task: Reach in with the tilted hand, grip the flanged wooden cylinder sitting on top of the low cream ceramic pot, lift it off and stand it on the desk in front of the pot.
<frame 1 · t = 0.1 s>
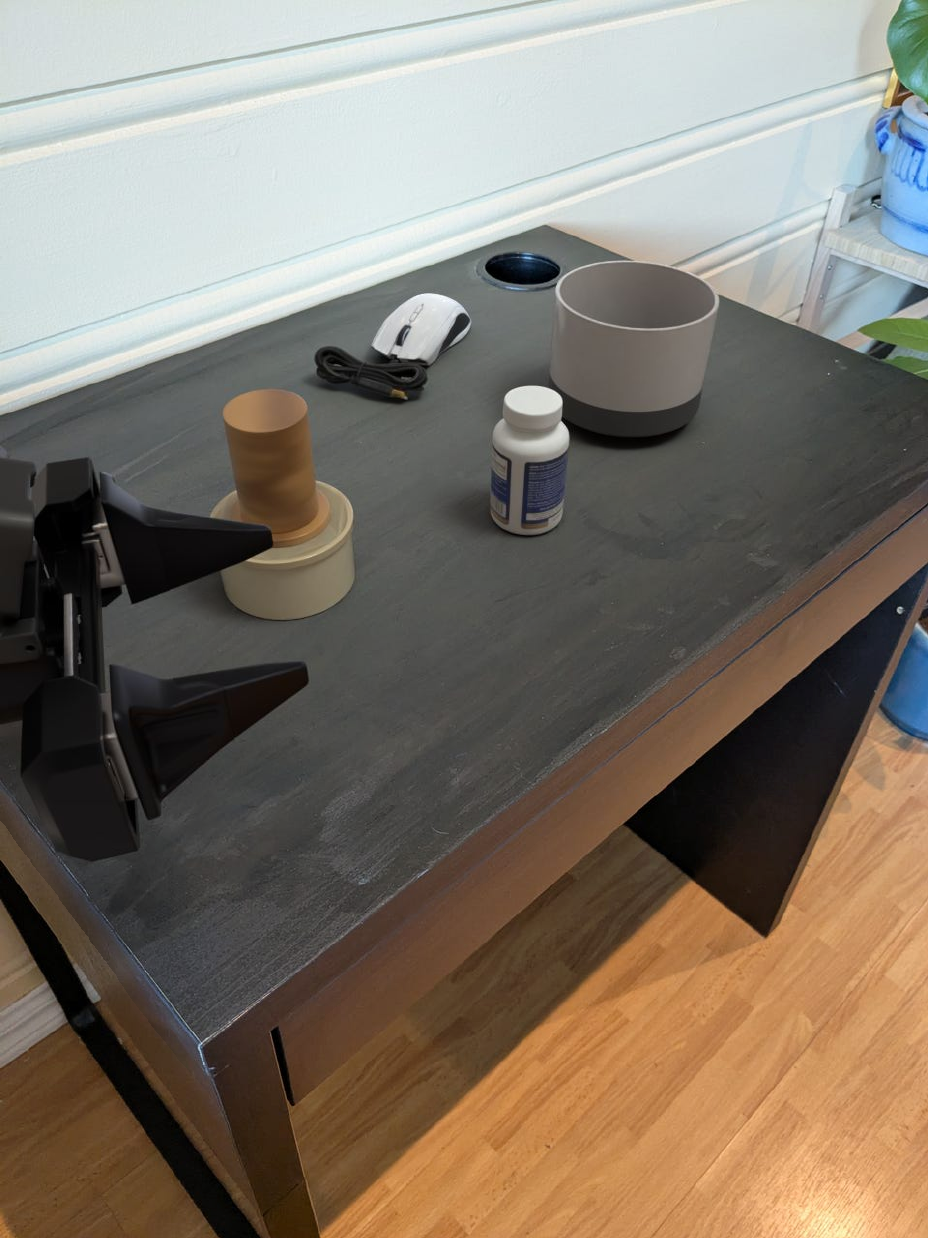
hand: (288, 599, 42), 15 cm above the table, tool horizontal, fingers open, 9 cm apart
pill bottle: (525, 517, 72), on the table
cream ceramic pot: (289, 576, 66), on the table
planter: (620, 412, 83), on the table
flanged wooden cylinder: (281, 517, 63), point 5 cm above the table, touching cream ceramic pot
computer mouse: (408, 355, 90), on the table
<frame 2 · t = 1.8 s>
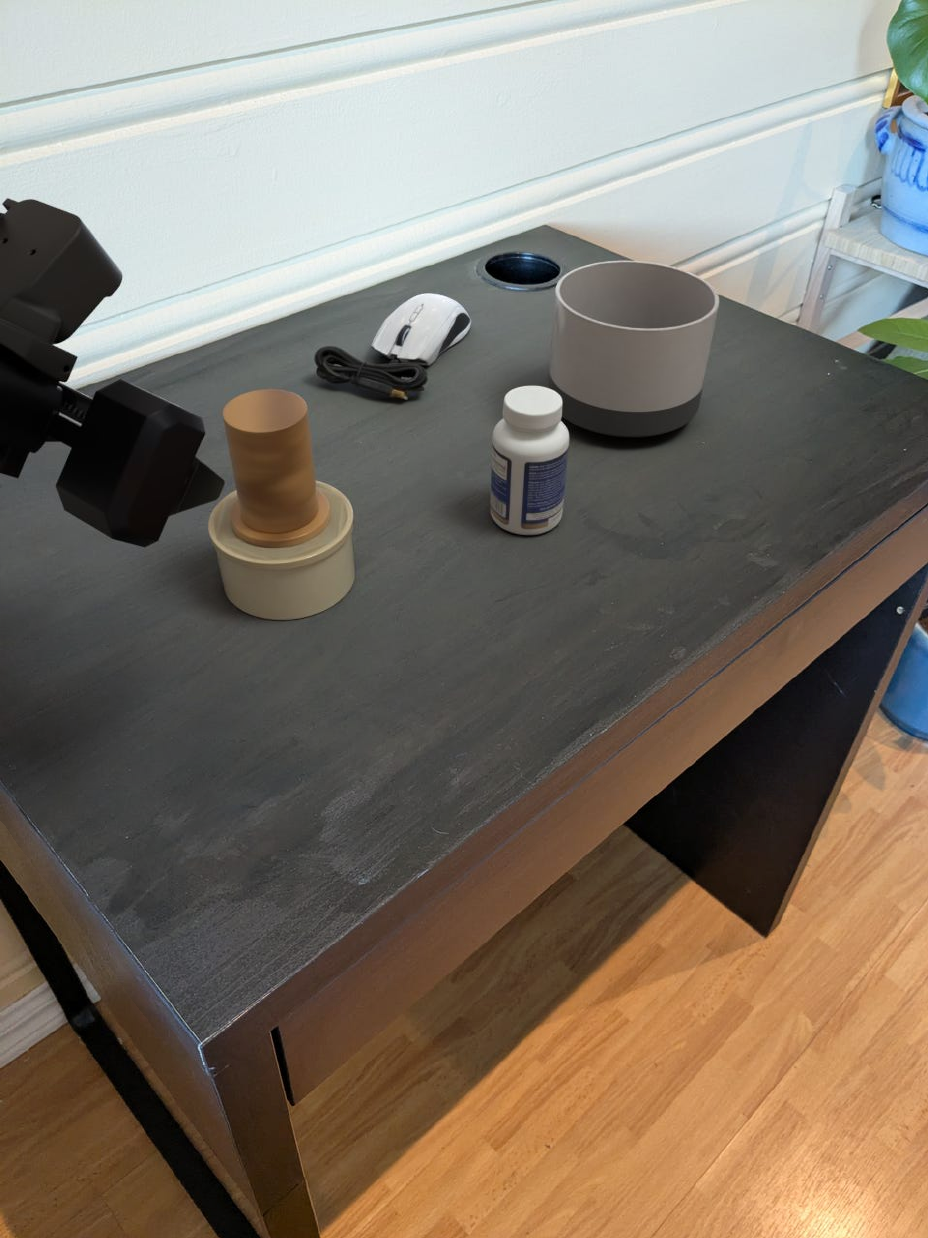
hand: (161, 459, 52), 14 cm above the table, tool tilted 45°, fingers open, 9 cm apart
nothing on the table moved.
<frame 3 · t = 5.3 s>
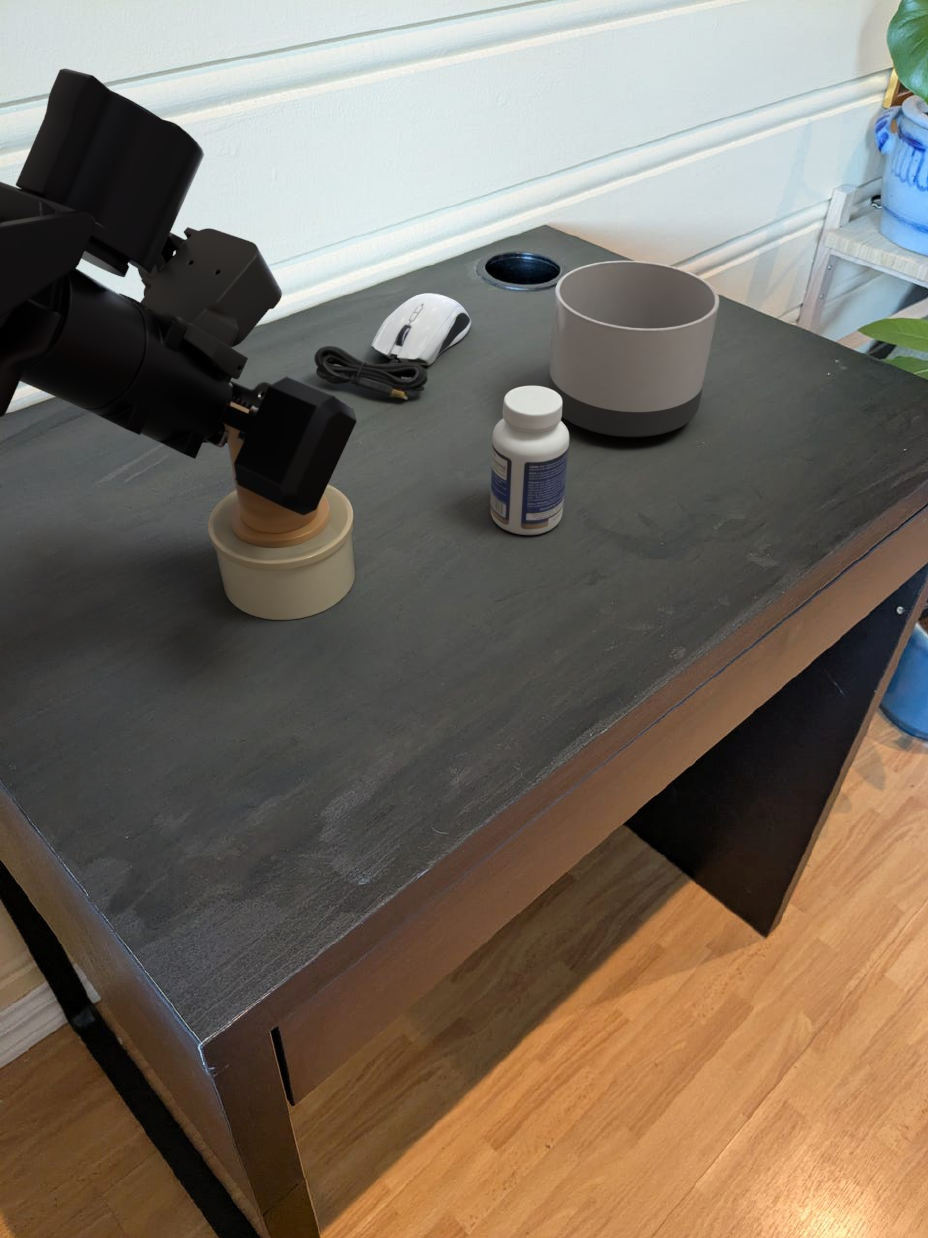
hand: (288, 448, 61), 10 cm above the table, tool tilted 45°, fingers closed on flanged wooden cylinder, 5 cm apart
flanged wooden cylinder: (281, 517, 63), point 5 cm above the table, touching gripper, cream ceramic pot
everything else where it was.
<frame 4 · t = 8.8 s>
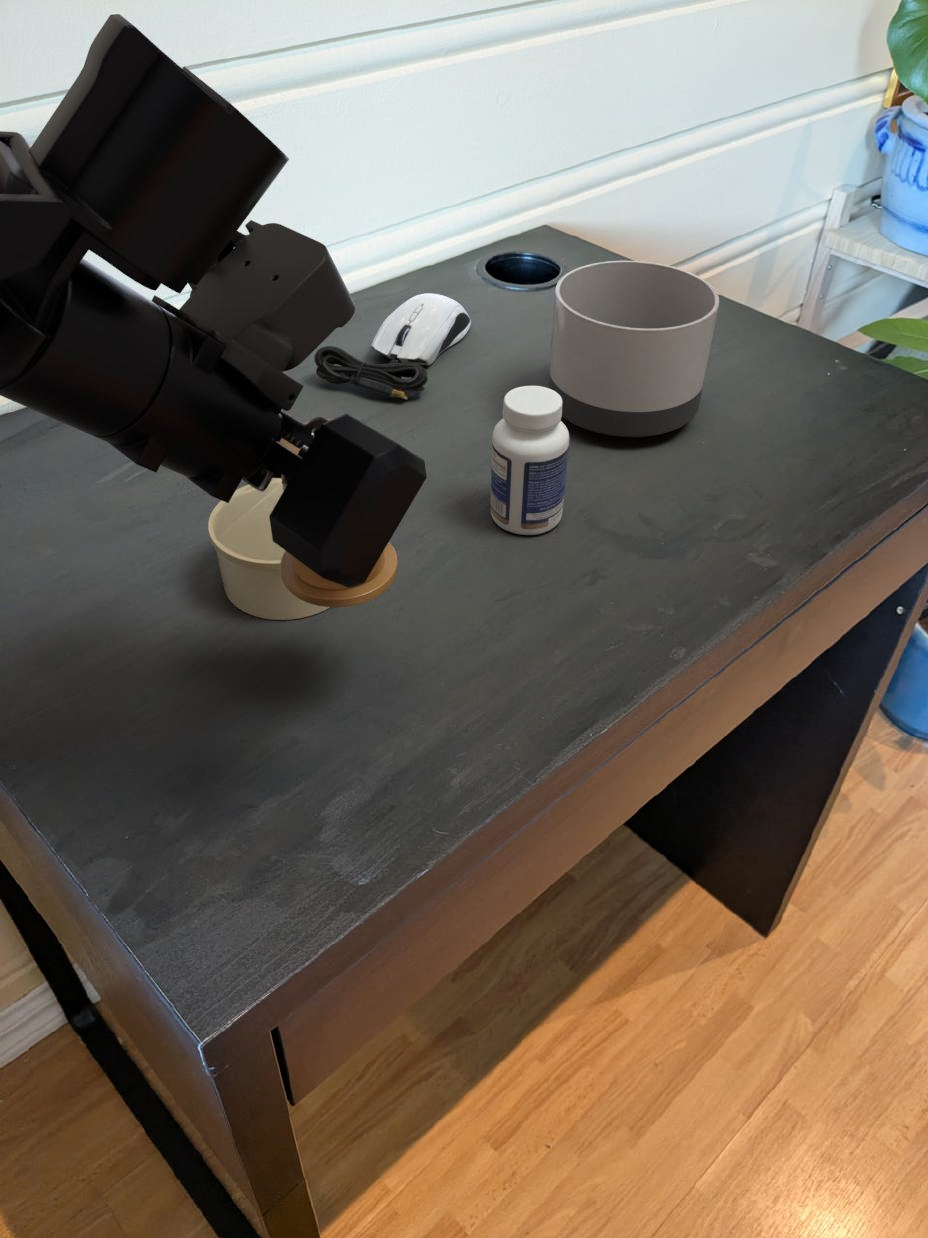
hand: (354, 490, 51), 13 cm above the table, tool tilted 45°, fingers closed on flanged wooden cylinder, 5 cm apart
flanged wooden cylinder: (339, 569, 53), point 9 cm above the table, touching gripper
everything else where it was.
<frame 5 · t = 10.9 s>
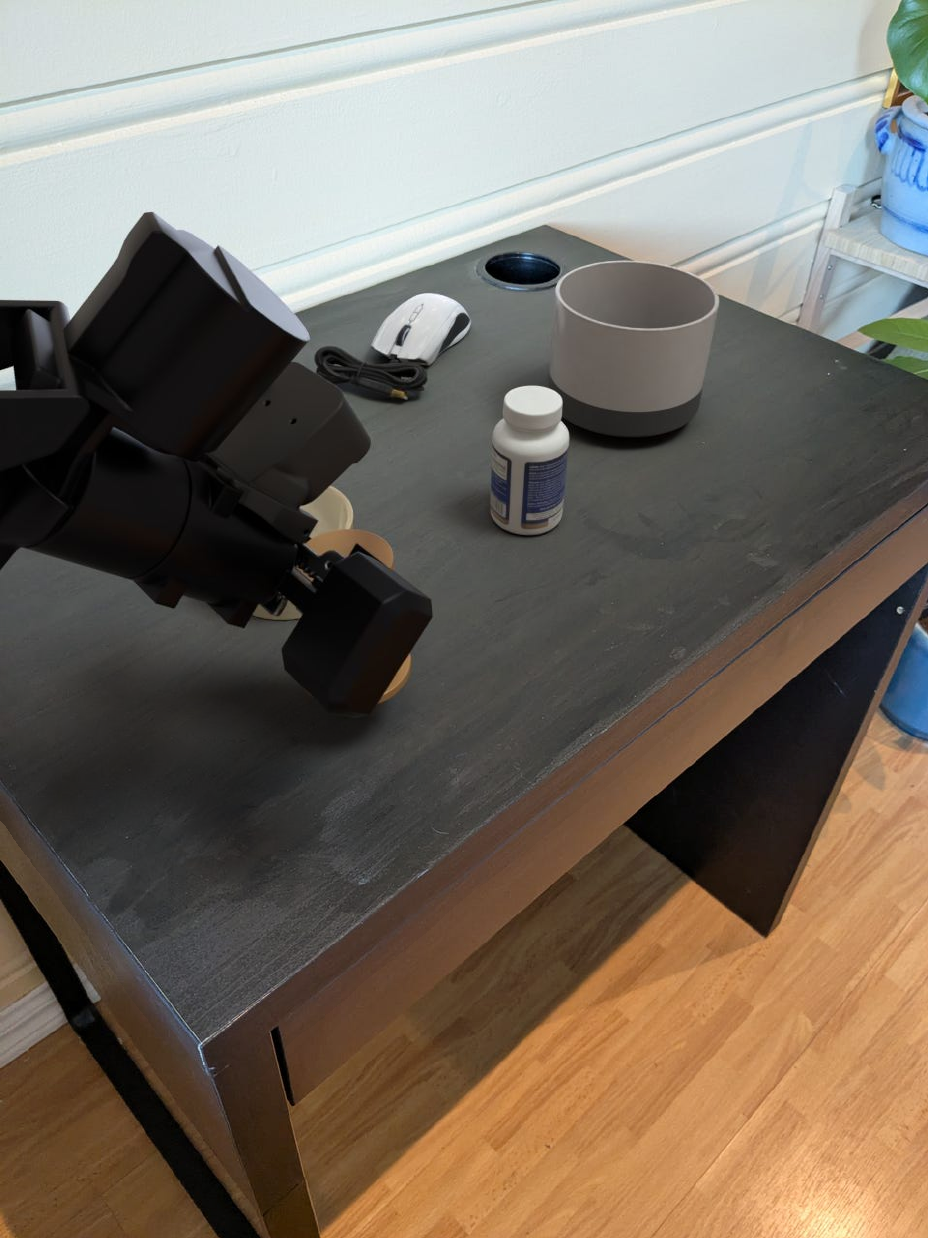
hand: (370, 596, 52), 8 cm above the table, tool tilted 45°, fingers closed on flanged wooden cylinder, 5 cm apart
flanged wooden cylinder: (354, 667, 55), point 4 cm above the table, touching gripper
everything else where it was.
when the fingers open (5 cm above the table, at t = 12.5 s): flanged wooden cylinder stays where it is, on the table.
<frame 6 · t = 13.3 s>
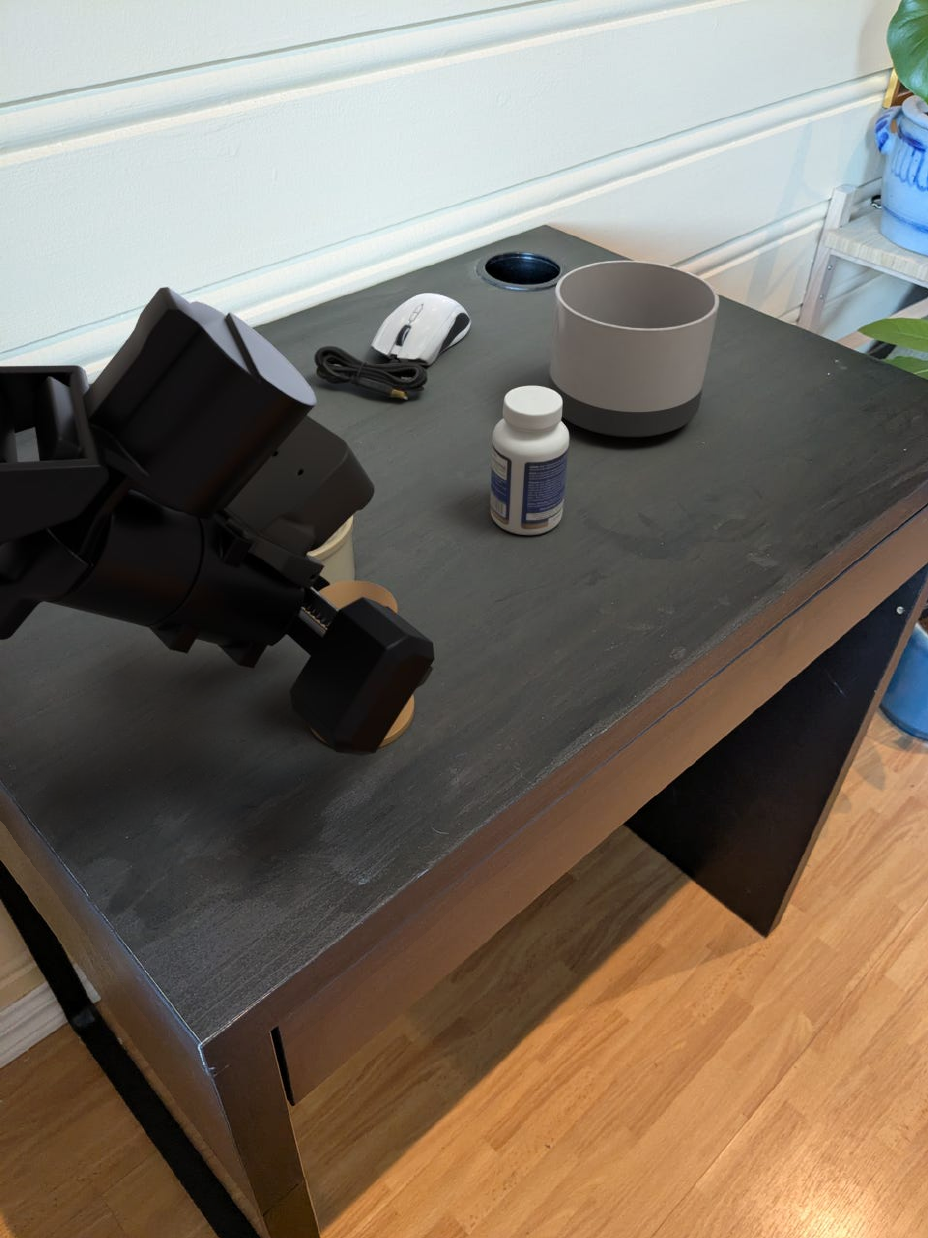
hand: (373, 630, 54), 6 cm above the table, tool tilted 45°, fingers open, 9 cm apart
flanged wooden cylinder: (360, 709, 57), on the table
everything else where it was.
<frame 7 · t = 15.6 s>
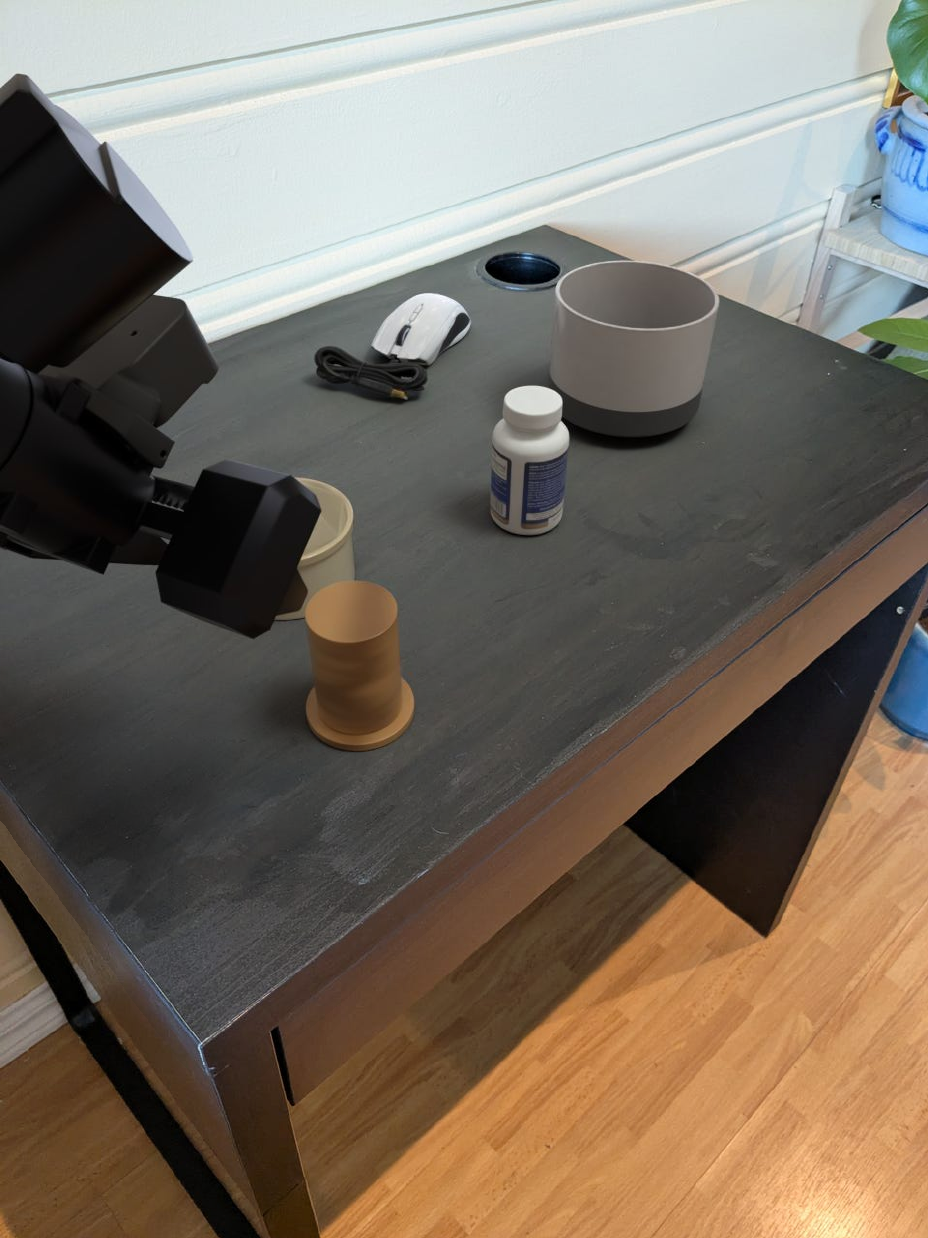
hand: (230, 577, 48), 12 cm above the table, tool tilted 35°, fingers open, 9 cm apart
nothing on the table moved.
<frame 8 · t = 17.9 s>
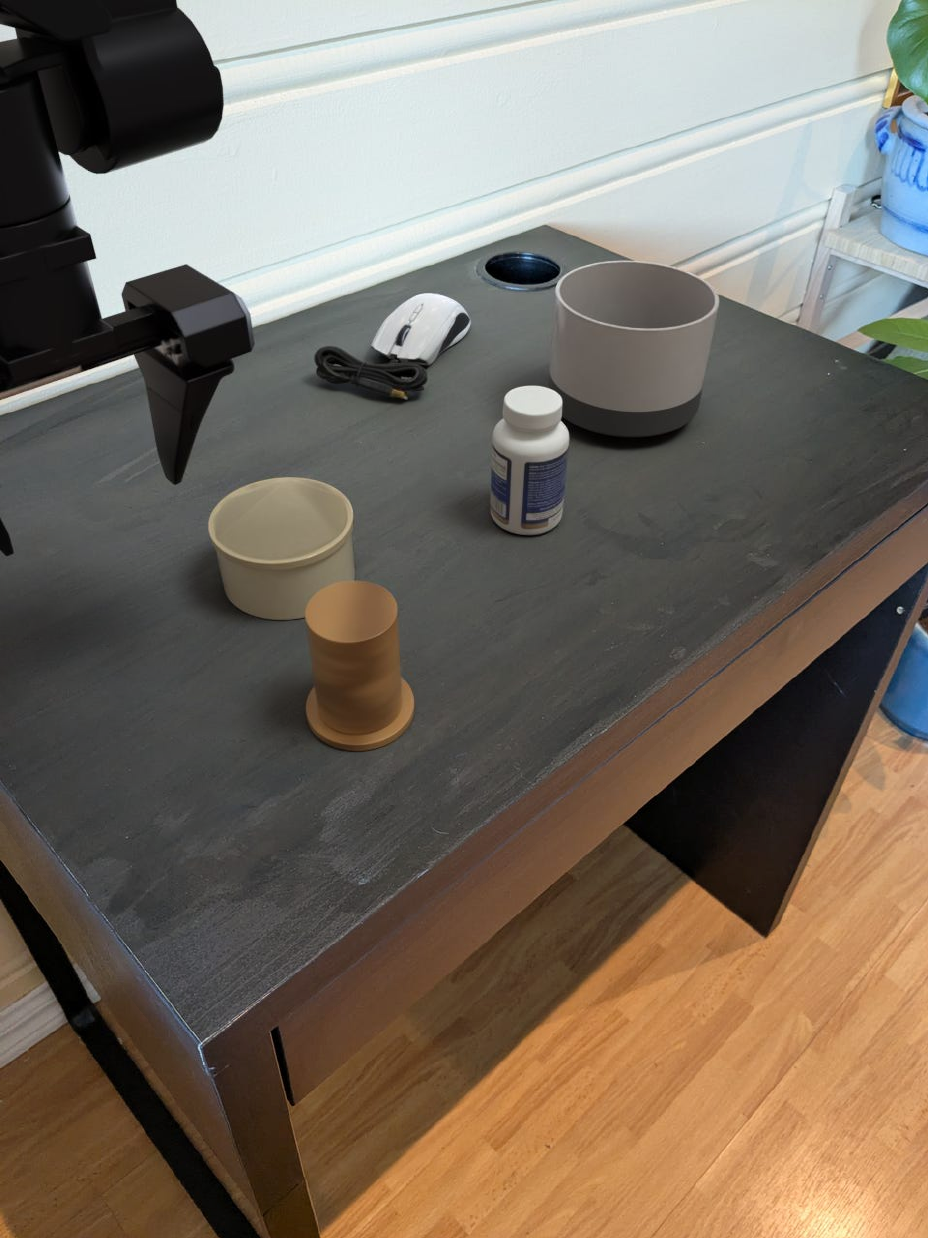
hand: (93, 514, 50), 13 cm above the table, tool pointing down, fingers open, 9 cm apart
nothing on the table moved.
at the end: flanged wooden cylinder inside the target area (0.0 cm from its centre), on the table; flanged wooden cylinder tilted 0°; the gripper is holding nothing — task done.
